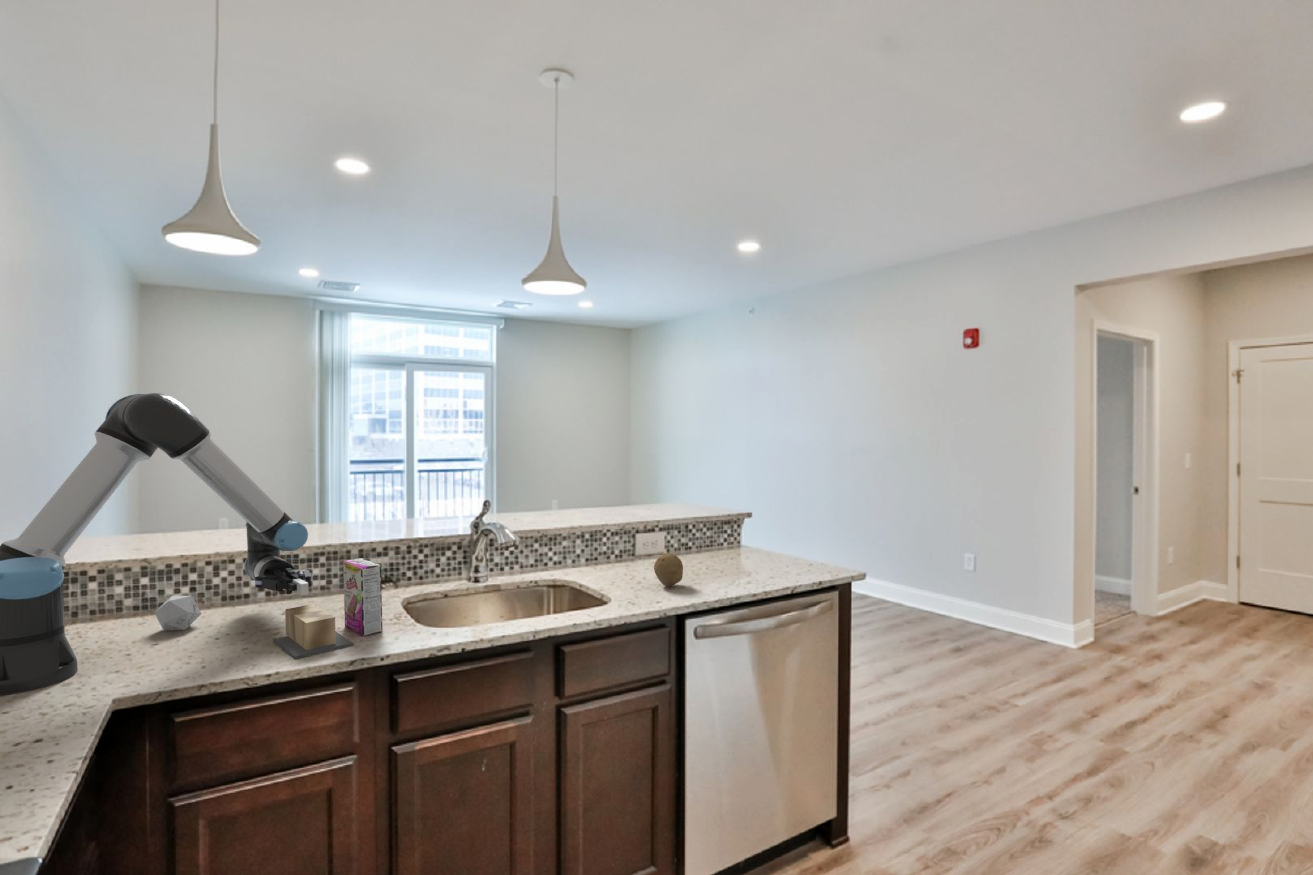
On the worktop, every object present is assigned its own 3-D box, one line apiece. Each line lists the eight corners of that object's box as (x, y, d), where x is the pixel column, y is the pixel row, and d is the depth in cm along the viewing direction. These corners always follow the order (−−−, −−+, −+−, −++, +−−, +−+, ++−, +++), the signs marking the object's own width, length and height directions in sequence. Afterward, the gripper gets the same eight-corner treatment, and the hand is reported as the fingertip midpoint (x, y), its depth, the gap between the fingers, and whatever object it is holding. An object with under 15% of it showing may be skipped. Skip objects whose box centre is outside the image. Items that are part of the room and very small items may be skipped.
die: (165, 639, 155) (194, 603, 158) (138, 619, 157) (167, 584, 159) (188, 640, 163) (215, 606, 166) (162, 622, 164) (190, 588, 167)
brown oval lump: (657, 581, 203) (657, 549, 203) (686, 582, 202) (685, 550, 201) (651, 589, 194) (651, 555, 194) (681, 590, 193) (680, 556, 192)
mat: (295, 659, 140) (295, 656, 140) (273, 641, 151) (273, 638, 151) (353, 645, 148) (353, 642, 148) (328, 629, 159) (328, 626, 159)
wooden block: (285, 634, 154) (306, 650, 143) (285, 609, 154) (306, 622, 143) (313, 628, 158) (335, 643, 147) (312, 603, 158) (335, 616, 147)
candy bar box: (343, 627, 161) (341, 560, 161) (363, 622, 165) (362, 557, 164) (362, 637, 154) (361, 567, 153) (383, 631, 157) (382, 563, 157)
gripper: (302, 582, 174) (334, 599, 158) (246, 592, 165) (274, 611, 148) (302, 554, 174) (334, 568, 157) (245, 562, 165) (273, 578, 148)
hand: (304, 589), depth 153 cm, fingers closed
